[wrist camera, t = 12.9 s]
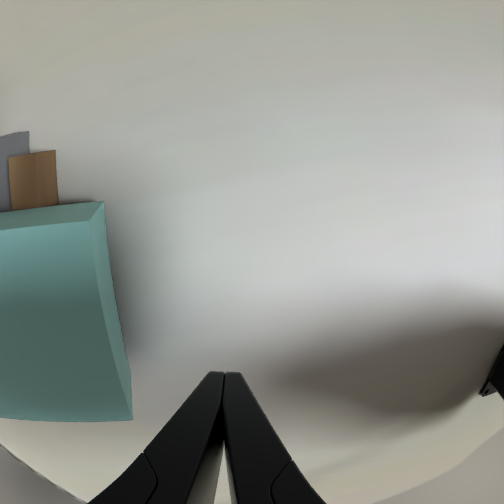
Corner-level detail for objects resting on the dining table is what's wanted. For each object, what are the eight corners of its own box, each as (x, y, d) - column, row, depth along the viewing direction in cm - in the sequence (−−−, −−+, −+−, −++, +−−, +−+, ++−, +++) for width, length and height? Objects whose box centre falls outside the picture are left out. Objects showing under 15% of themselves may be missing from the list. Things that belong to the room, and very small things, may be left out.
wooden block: (55, 150, 10) (35, 152, 9) (98, 384, 14) (89, 402, 13) (29, 154, 10) (8, 157, 9) (75, 379, 14) (65, 397, 13)
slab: (89, 220, 8) (-107, 247, 5) (132, 420, 10) (-38, 412, 8) (103, 201, 10) (-70, 224, 8) (131, 372, 13) (-21, 373, 10)
